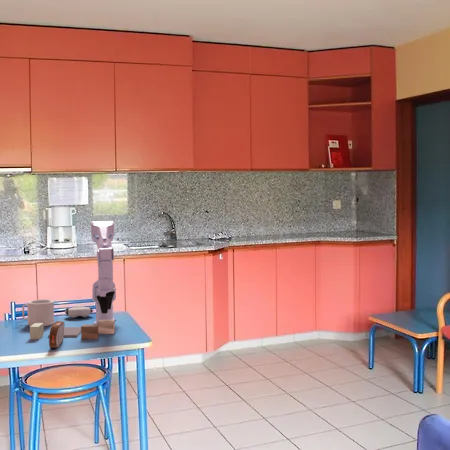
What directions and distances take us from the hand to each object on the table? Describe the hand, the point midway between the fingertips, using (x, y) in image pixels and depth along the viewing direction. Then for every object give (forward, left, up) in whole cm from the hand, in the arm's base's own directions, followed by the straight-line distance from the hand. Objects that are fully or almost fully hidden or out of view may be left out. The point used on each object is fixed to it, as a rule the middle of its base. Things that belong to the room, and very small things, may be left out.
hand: (106, 311), depth 232 cm
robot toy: (-32, -18, -9) cm, 38 cm away
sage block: (+6, -26, -9) cm, 28 cm away
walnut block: (+8, -5, -9) cm, 13 cm away
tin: (+18, -15, -9) cm, 25 cm away
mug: (-16, -32, -9) cm, 37 cm away
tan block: (0, 0, -9) cm, 9 cm away
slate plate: (0, -16, -9) cm, 18 cm away
